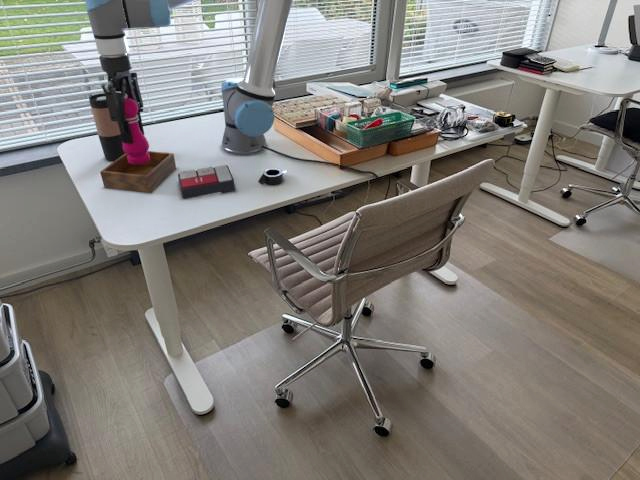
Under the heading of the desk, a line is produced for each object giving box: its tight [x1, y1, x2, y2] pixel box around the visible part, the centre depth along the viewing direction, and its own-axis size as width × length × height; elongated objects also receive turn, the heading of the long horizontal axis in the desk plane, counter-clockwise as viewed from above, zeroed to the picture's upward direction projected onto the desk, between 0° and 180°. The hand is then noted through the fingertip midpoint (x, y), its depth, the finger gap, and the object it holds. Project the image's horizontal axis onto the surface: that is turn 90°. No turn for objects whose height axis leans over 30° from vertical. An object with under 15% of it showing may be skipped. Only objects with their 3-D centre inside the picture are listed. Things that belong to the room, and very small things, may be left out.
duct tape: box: [257, 167, 288, 187], centre depth 139 cm, size 8×10×3 cm
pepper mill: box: [122, 94, 150, 165], centre depth 131 cm, size 7×7×20 cm
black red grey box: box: [177, 164, 236, 200], centre depth 135 cm, size 11×4×15 cm
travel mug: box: [88, 92, 125, 163], centre depth 146 cm, size 8×8×20 cm
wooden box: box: [99, 150, 177, 194], centre depth 138 cm, size 15×17×5 cm
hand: (134, 138), depth 133 cm, fingers closed on pepper mill, 6 cm apart
